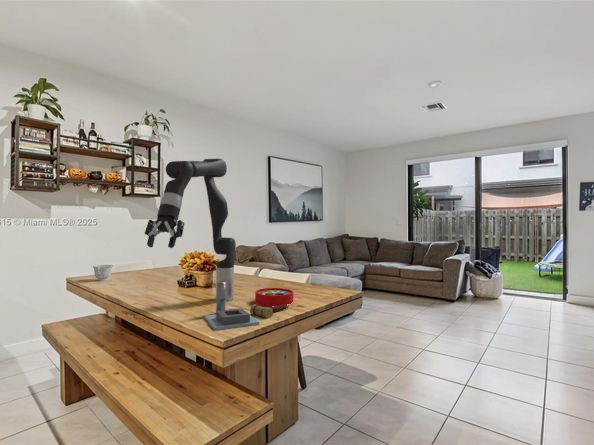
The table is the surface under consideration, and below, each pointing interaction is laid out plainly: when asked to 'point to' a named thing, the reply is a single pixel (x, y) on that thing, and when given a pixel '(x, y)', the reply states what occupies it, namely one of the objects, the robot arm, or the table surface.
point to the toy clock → (273, 296)
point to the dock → (219, 326)
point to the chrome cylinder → (221, 296)
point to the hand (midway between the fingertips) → (160, 247)
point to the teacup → (102, 271)
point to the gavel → (266, 310)
